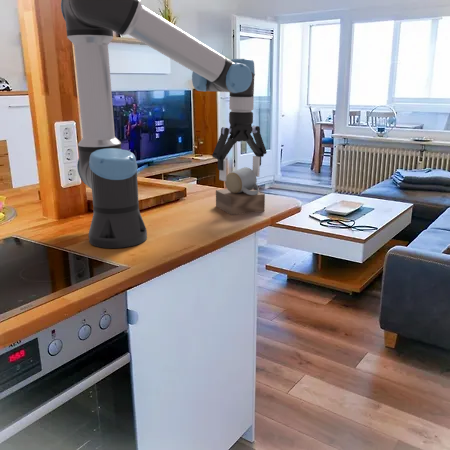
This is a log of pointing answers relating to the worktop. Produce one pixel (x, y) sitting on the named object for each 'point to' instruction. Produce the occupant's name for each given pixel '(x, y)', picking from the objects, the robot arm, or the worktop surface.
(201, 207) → the worktop surface
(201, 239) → the worktop surface
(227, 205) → the walnut box
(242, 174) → the ceramic mug
